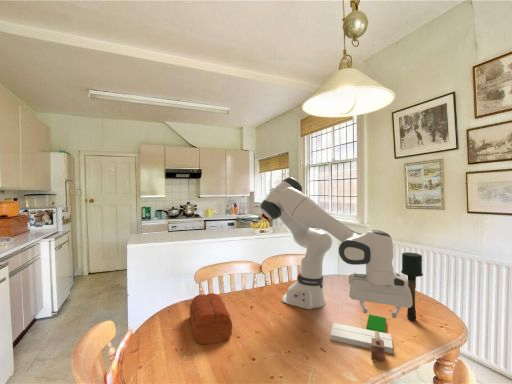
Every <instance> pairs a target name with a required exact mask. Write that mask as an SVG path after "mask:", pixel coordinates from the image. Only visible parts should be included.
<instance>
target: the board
mask: <svg viewBox="0 0 512 384" xmlns="http://www.w3.org/2000/svg"><path fill="white" fill-rule="evenodd" d="M329 335H330V337H329V338H330V341H334V342H340V343H343V344H348V345H353V346H358V347H362V348H366V349H370V350H371V343H372V338H375V331H372V330H367V329H366V328H361V327H357V326H351V325H346V324H340V323H335V322H333V323H332V328H331V331H330V334H329ZM379 338H380V340H384V353H388V354H389V353H390V354H394V352H393V351H394V345H393V340H392V334H391V333H387V332H385V333H382V332H379Z"/></svg>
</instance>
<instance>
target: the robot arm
mask: <svg viewBox="0 0 512 384" xmlns="http://www.w3.org/2000/svg"><path fill="white" fill-rule="evenodd" d="M260 209H261V211H262V214H263V215H264V216H265V217H267V218H268V219H270V220H277V219H279V220H280V221H281V222H282V223H283V224H284V225H285V227H286V228H287V229H288V230H289V232H290V233H291V235H292V237H293V238H292V239H293V240H294V242H295V243H296V244H297V245H298V246H300V248H305V249H306V252H305V256H304V257H302V259H301V260H300V272H299V273H298V274H297V275H296V281H295V282H293V283H292V284H290V285H289V286H288V288H287V290H286V291H287V292H285V294H283V296H282V297H281V298H282V301H281V302H282V303H284V304H288V305H291V306H295V307H298V308H302V309H305V310H311V309H315V308H316V309H317V308H321V307H324V306H325V305H326V300H325V296H324V289H323V288H324V275H323V263H324V257H325V256H326V253H327V252H328V251H330V250H331V248H332V245H333V240H332V239H333V238H332V237H331V236H333V237H334V238H335V239H337V240H338V241H340V242H341V243H340V244H339V246H338V255H339V257H340V259H341V260H342V261H343V262H345V263H346V264H348V265H354V266H355V265H357V266H358V265H359V266H360V265H365V274H364V273H356V272H354V273H352V274H350V275H348V283H349V296H348V297H349V298H350V299H351V300H355V301H359V305H360V307H361V308H362V314H368V306H366V305H364V303H365V302H367V303H374V304H381V305H388V306H393V307H394V306H395V310H391V318H392V319H397V318H398V314H399V312H400V311H401V309H402V308H407V309H408V308H410V307H411V306H412V305H413V303H412V295H411V291H410V289H409V287H408V277H406V275H405V274H402V273H399V272H396V271H394V266H393V260H394V244H393V243H394V242H393V239H392V238H393V237H392V236H391V235H390V234H389V233H387V232H385V231H381V230H379V229H378V230H377V229H369V230H367V231H366V232H364V233H360V232H356V231H354V230H352V229H350V228H349V227H348V226H345V224H343V223H341V222H340V221H339V220H338V219H336V218H335V217H333V216H332V215H330V214H329V213H328V212H327V211H325V210H324V209H323V208H322V207H321V206H320V205H319V204H318V203H316V202H315V201H314V200H313V199H311V198H310V197H309V196H308V195H306V194H304V192H303V186H302V185H301V183H300V182H299V181H298V180H297V179H295V178H294V177H289V176H287V177H286V178H284V179H283V180H282V181H281V182H280V183H279V184H277V185H276V186H275V187H274V188H273V189H272V191H271V192H269V194H268V195H267V196H266V197H265V199H263V200H262V202H261V204H260ZM325 231H326V232H325ZM401 307H402V308H401Z"/></svg>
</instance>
